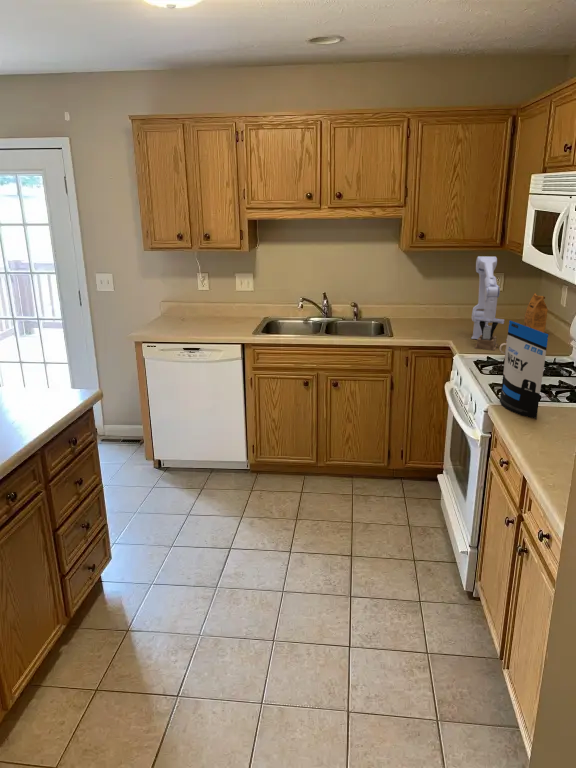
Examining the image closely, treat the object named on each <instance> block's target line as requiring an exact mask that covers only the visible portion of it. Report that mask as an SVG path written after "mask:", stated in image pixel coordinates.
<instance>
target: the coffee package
mask: <svg viewBox="0 0 576 768" xmlns="http://www.w3.org/2000/svg"><path fill="white" fill-rule="evenodd" d="M545 299H546V296H544V295H537V293H534V294H533V295H532V297H531V298H530V301H529V303H528V305H527V307H526V311H525V314H524V320H523V325H524V326H527V327H530V328H532V329H535V330H538V331H540V332H543V333H545V332H546V325H547V320H548V319H547V317H548V311H549V309H548V307H547V303H546V302H545Z"/></svg>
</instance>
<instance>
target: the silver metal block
mask: <svg viewBox="0 0 576 768" xmlns="http://www.w3.org/2000/svg"><path fill="white" fill-rule="evenodd" d="M491 331H492V324H491V325H489V324H488V325H486V326H485V327H484V330H483V339H482V340H491V338H492V337H491Z"/></svg>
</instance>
